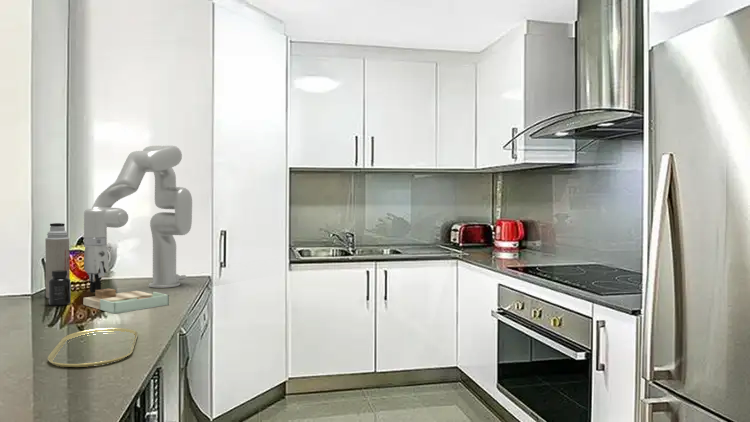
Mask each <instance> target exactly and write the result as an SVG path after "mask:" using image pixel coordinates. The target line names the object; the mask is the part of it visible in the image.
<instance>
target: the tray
mask: <svg viewBox="0 0 750 422" xmlns="http://www.w3.org/2000/svg"><path fill="white" fill-rule="evenodd" d="M152 294H153V296H152V297H151V298H144V299H137V298H136V299H129V300H123V301H116V302H110V301H106V300H103V299H100V309H99V310H101V311H104V312H108V313H111V314H121V313H127V312H133V311H139V310H143V309H144V310H145V309H151V308H158V307H163V306H164V307H165V306H168V305H169V303H170V302H169V301H170V298H169V297H170V295H169V294H165V293H161V292H157V291H152Z"/></svg>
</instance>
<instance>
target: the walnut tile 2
mask: <svg viewBox="0 0 750 422" xmlns="http://www.w3.org/2000/svg"><path fill="white" fill-rule="evenodd" d="M116 293H117V289H114V288H101V289H100V290H95V297H97V298H101V299H104V298H111V297H116Z"/></svg>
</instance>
